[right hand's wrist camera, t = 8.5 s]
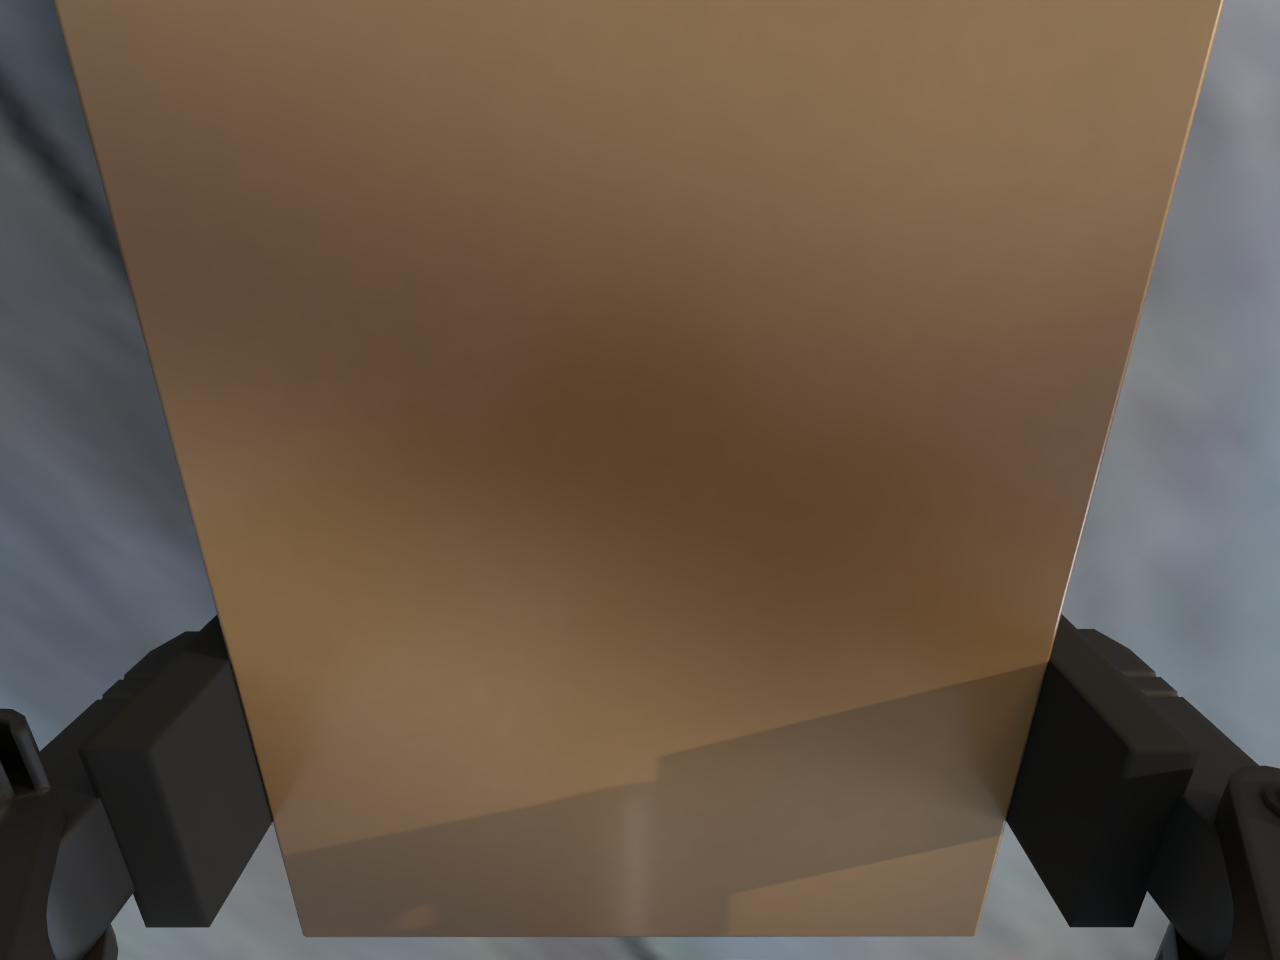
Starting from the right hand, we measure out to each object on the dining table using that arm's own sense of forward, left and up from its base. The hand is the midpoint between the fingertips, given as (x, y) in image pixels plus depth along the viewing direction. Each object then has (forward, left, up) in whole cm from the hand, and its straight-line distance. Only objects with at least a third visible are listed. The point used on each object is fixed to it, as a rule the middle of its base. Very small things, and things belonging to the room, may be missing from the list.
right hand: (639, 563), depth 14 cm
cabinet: (+4, +3, -4) cm, 6 cm away
